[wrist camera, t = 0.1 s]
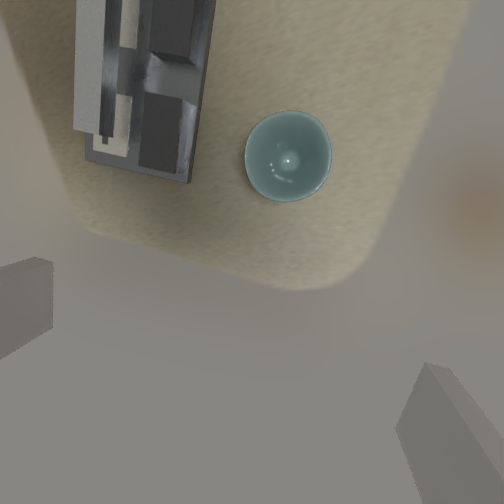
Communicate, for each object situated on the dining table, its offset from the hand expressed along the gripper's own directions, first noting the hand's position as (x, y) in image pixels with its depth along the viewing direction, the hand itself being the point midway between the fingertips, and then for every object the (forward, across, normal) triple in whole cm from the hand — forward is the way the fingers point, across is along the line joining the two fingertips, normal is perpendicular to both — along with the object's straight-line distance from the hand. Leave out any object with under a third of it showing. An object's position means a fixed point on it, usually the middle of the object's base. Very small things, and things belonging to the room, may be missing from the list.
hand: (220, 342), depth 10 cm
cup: (+28, 0, +7) cm, 29 cm away
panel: (+28, -19, +15) cm, 37 cm away
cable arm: (+23, -22, +17) cm, 36 cm away
